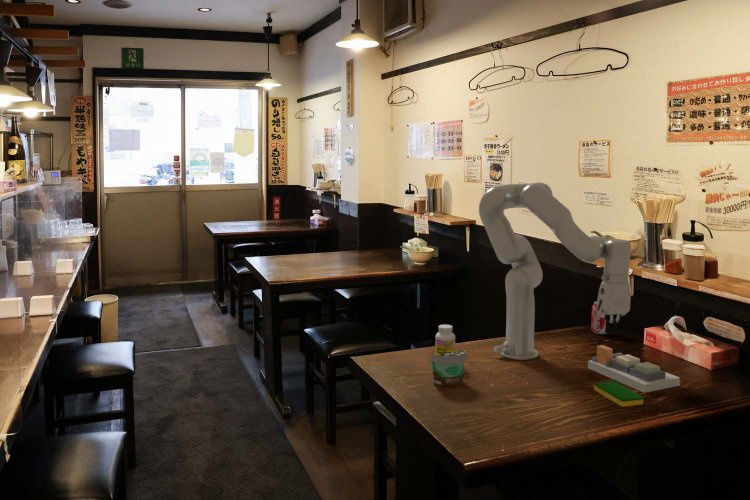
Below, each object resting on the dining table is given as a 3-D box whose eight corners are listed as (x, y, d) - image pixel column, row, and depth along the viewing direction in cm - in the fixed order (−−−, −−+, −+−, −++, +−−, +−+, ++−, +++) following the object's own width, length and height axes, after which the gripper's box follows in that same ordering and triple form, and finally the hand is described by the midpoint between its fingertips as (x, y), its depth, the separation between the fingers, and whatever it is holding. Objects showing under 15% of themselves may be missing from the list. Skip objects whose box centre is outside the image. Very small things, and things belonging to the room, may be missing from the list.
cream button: (627, 367, 201) (627, 361, 201) (615, 362, 205) (615, 356, 205) (639, 365, 203) (640, 358, 202) (627, 360, 207) (628, 354, 207)
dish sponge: (613, 388, 196) (614, 380, 195) (643, 405, 182) (644, 397, 182) (593, 390, 194) (593, 383, 193) (622, 408, 181) (622, 400, 180)
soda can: (611, 335, 249) (612, 305, 247) (592, 334, 251) (593, 304, 249) (608, 330, 256) (609, 300, 254) (589, 329, 257) (591, 300, 256)
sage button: (647, 375, 194) (647, 368, 193) (634, 370, 198) (635, 363, 198) (659, 373, 195) (660, 366, 195) (647, 368, 200) (647, 361, 200)
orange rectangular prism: (605, 364, 207) (606, 349, 206) (596, 360, 211) (596, 345, 210) (611, 363, 208) (612, 348, 207) (602, 359, 212) (602, 345, 211)
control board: (644, 392, 191) (644, 378, 190) (587, 368, 212) (588, 354, 212) (679, 385, 196) (680, 371, 195) (621, 362, 218) (621, 349, 217)
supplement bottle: (432, 364, 217) (432, 327, 215) (438, 359, 223) (438, 322, 221) (452, 367, 215) (452, 329, 213) (457, 361, 221) (457, 324, 219)
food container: (441, 391, 193) (441, 359, 192) (429, 385, 198) (429, 353, 197) (474, 384, 199) (475, 353, 197) (463, 378, 204) (463, 347, 203)
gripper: (605, 282, 200) (600, 339, 204) (642, 279, 206) (636, 334, 209) (588, 277, 207) (584, 332, 210) (624, 274, 213) (619, 328, 216)
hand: (610, 333), depth 210 cm, fingers closed
